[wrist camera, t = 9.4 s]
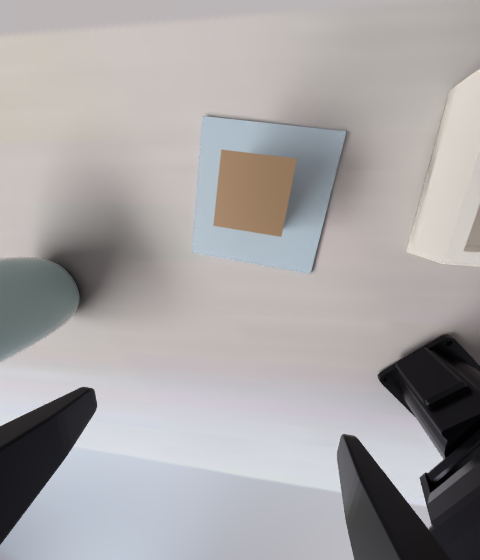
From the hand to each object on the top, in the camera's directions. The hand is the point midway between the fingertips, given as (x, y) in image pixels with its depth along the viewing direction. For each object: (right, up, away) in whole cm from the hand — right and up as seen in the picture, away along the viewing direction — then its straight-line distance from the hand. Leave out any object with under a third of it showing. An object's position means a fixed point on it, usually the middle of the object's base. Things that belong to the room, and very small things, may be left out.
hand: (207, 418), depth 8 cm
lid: (+3, +11, +10) cm, 15 cm away
